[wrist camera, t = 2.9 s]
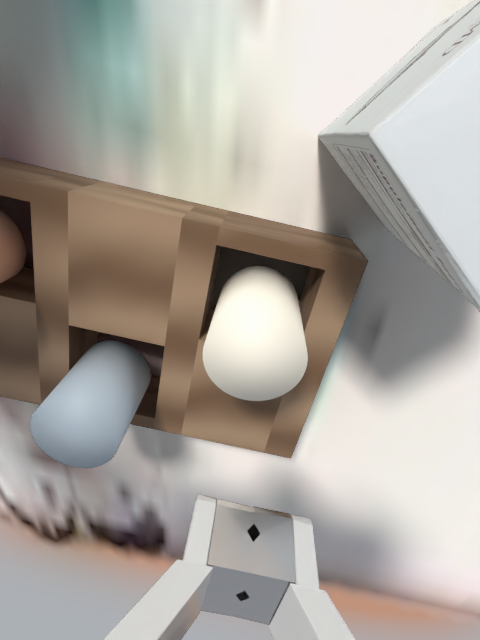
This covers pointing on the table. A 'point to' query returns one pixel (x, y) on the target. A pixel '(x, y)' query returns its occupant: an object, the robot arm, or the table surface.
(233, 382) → the cream egg-shaped piece
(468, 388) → the table surface
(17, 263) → the tan rounded short cylinder
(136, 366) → the key slate
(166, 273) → the tray
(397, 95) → the supplement box
